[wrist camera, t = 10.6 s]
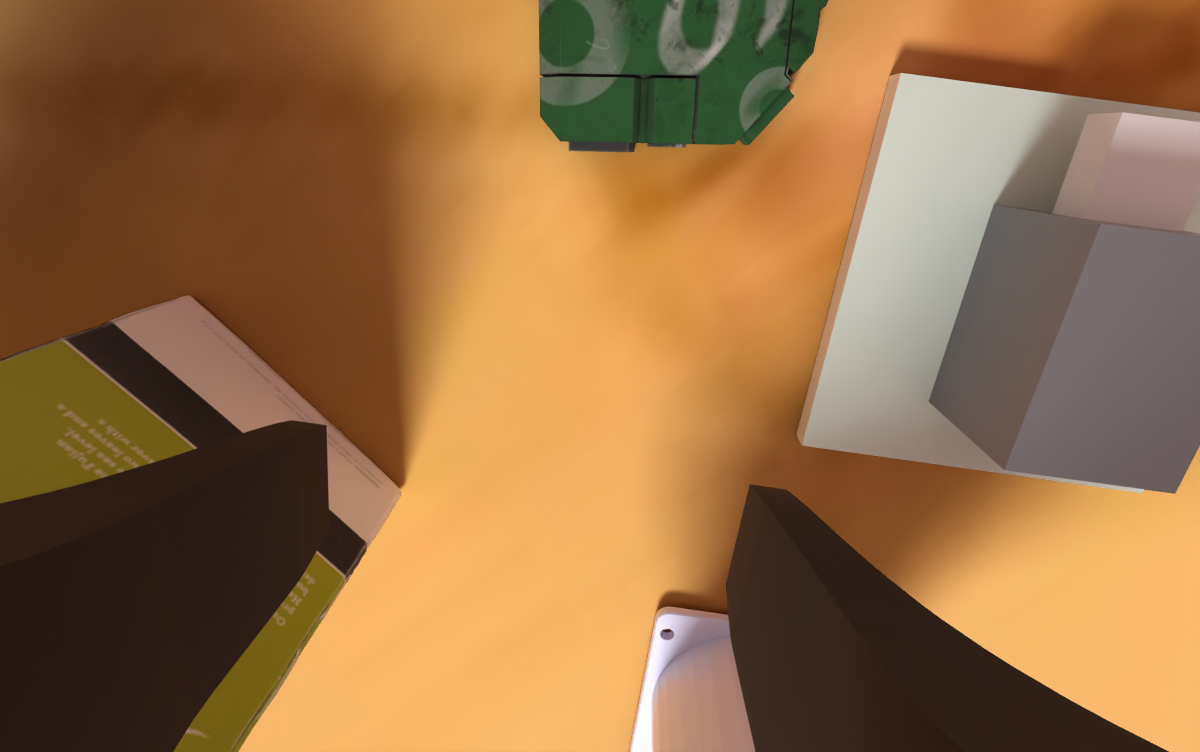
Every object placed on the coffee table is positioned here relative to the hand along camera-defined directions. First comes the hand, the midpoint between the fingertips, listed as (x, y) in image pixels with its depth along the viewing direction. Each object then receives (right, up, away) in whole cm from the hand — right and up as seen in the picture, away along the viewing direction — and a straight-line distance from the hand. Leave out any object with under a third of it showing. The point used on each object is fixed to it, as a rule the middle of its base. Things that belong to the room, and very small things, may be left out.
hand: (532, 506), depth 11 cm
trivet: (+14, +5, +9) cm, 17 cm away
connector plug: (+14, +5, +7) cm, 17 cm away
